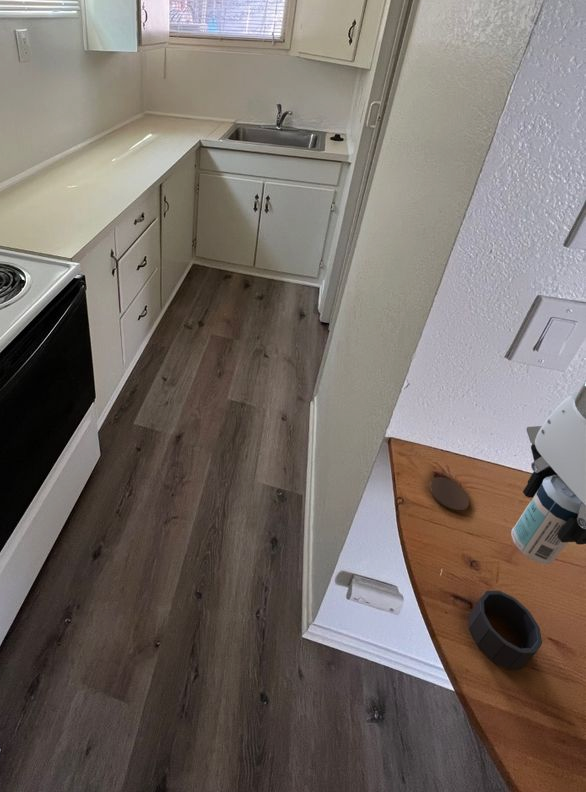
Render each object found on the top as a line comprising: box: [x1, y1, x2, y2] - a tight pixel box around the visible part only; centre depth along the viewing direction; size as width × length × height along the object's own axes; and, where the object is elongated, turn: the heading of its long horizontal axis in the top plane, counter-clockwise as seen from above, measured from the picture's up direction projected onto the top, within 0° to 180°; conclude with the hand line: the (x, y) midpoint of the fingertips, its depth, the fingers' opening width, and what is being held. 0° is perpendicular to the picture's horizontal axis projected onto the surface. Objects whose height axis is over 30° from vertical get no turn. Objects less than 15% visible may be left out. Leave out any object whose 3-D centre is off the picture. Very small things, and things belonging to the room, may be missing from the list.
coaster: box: [428, 476, 470, 513], centre depth 80 cm, size 6×6×1 cm
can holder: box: [467, 590, 543, 671], centre depth 60 cm, size 7×7×5 cm
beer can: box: [510, 475, 581, 565], centre depth 54 cm, size 5×5×12 cm
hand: (552, 515), depth 53 cm, fingers closed on beer can, 4 cm apart
